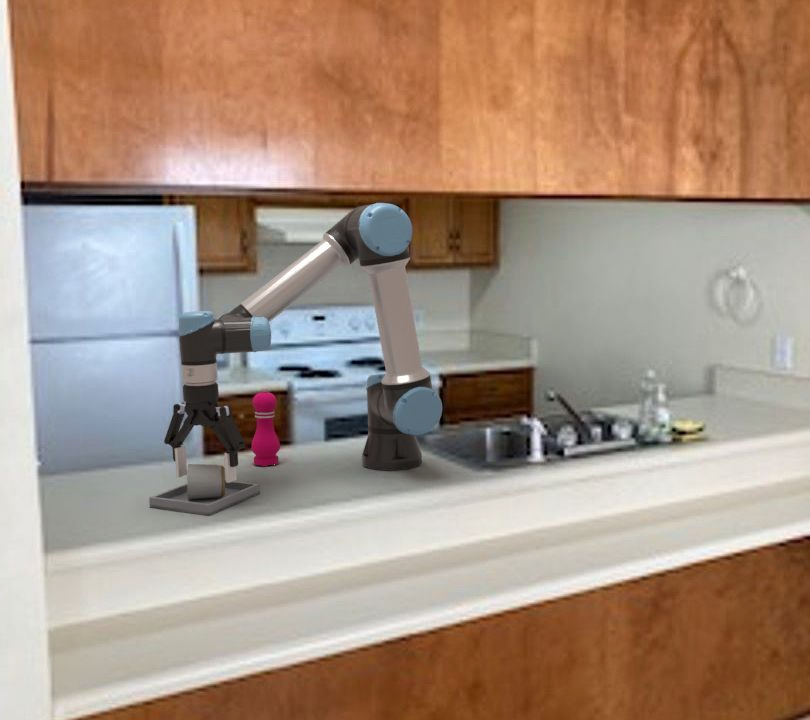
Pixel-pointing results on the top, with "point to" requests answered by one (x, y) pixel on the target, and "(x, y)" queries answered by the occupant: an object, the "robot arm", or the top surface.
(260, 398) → the pepper mill
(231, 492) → the grey tray
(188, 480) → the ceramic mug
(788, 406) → the top surface
